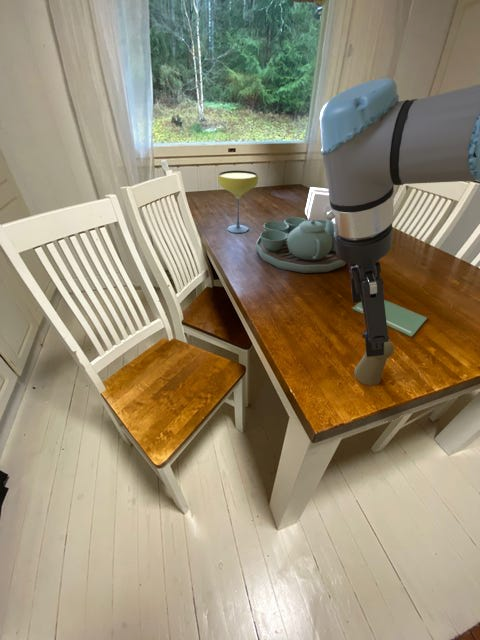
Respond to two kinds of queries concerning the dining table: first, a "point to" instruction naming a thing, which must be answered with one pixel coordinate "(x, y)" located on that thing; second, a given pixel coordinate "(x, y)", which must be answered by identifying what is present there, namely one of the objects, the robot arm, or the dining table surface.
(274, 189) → the dining table surface
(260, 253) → the tea set
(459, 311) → the dining table surface
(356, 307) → the cloth
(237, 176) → the cocktail glass
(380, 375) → the cork
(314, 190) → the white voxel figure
